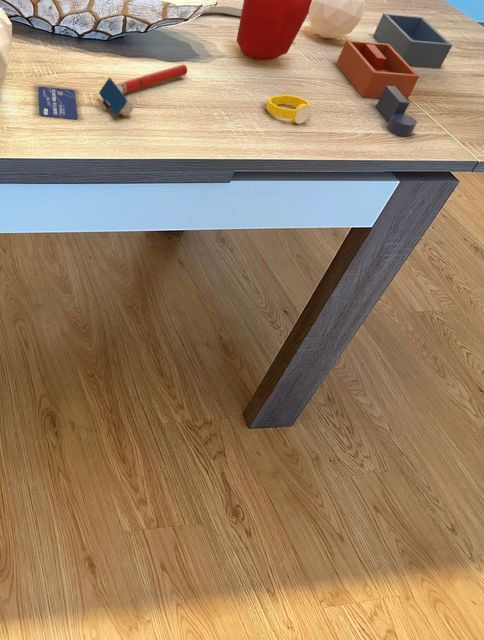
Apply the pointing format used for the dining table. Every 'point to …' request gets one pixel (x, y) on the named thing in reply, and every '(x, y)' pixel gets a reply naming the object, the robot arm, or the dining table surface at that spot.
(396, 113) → the blue spoon
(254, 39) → the red rounded piece
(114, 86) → the ultrasonic sensor
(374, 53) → the red disc on stick
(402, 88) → the red bin
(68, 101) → the credit card
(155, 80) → the flare
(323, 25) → the decorative ball
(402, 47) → the blue bin
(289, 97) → the watch
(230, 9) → the machete
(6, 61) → the bowl
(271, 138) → the dining table surface
